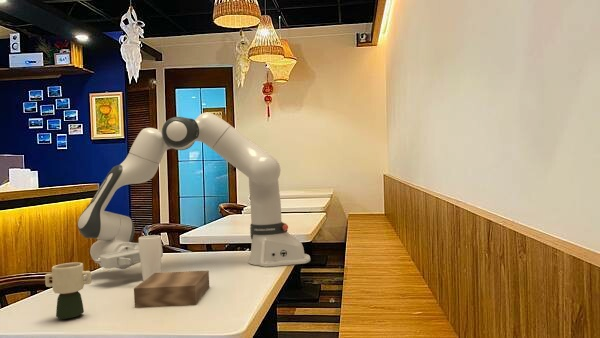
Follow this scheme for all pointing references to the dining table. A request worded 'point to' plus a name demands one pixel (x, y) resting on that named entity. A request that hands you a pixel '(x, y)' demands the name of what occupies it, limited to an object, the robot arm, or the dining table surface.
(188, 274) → the walnut riser dock
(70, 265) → the character mug
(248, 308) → the dining table surface
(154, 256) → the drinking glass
